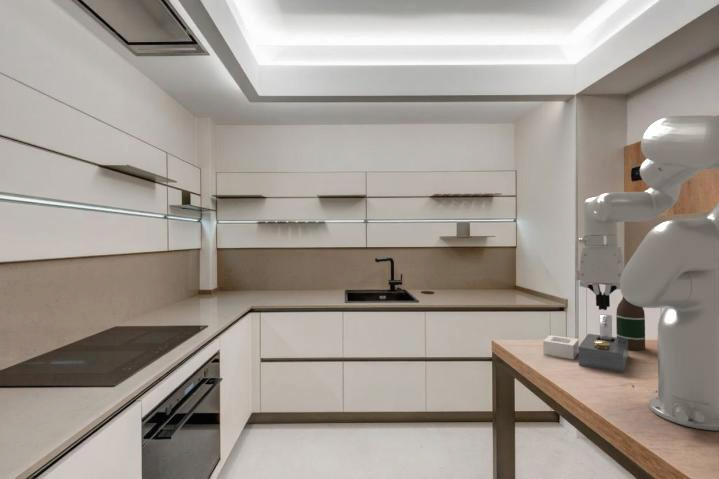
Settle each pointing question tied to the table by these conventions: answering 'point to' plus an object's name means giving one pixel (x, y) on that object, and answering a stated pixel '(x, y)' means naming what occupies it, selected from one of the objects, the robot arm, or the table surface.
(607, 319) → the silver rounded peg
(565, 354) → the holder
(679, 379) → the robot arm
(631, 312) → the beer bottle
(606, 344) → the key
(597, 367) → the socket block
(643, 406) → the table surface
